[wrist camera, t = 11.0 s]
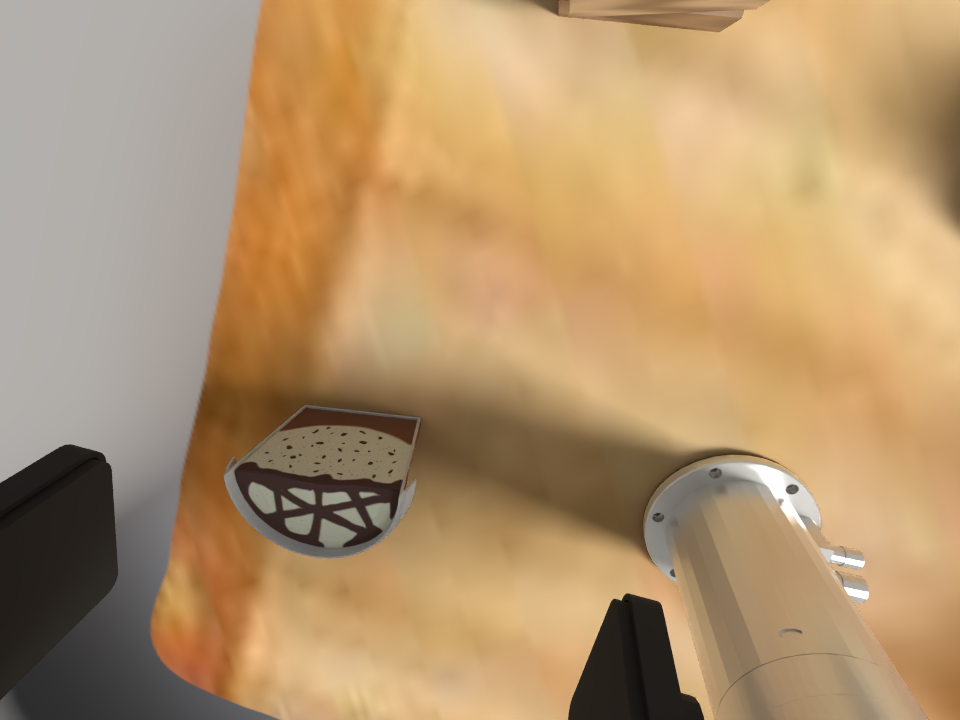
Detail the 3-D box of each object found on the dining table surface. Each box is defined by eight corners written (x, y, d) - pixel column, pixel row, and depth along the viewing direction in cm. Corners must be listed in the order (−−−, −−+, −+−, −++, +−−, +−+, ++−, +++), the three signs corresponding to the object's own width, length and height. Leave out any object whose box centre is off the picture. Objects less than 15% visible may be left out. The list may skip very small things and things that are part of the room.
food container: (292, 468, 46) (226, 551, 37) (286, 402, 44) (214, 474, 34) (438, 486, 45) (408, 577, 36) (440, 419, 42) (408, 498, 33)
